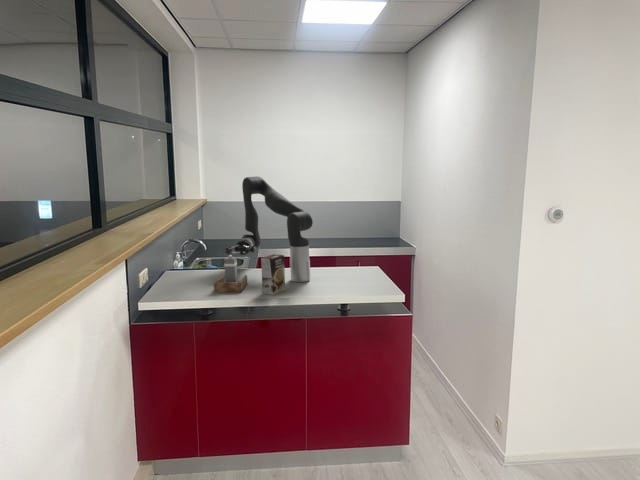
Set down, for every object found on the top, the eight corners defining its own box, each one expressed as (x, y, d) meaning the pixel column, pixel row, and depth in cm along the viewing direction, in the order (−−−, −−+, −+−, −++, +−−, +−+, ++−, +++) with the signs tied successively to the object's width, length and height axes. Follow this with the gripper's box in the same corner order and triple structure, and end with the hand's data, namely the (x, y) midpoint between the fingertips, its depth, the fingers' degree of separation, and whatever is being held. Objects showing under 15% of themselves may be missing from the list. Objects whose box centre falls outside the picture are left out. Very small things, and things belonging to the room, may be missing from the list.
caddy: (247, 284, 211) (247, 275, 211) (241, 292, 199) (240, 282, 198) (222, 284, 212) (222, 275, 211) (214, 292, 199) (214, 283, 198)
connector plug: (238, 283, 208) (236, 254, 206) (235, 286, 204) (234, 256, 201) (228, 284, 209) (226, 254, 206) (225, 286, 204) (223, 256, 201)
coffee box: (273, 295, 194) (271, 258, 191) (262, 293, 197) (260, 257, 194) (286, 289, 201) (284, 254, 199) (274, 288, 205) (273, 253, 202)
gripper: (230, 239, 232) (222, 244, 216) (257, 238, 231) (251, 243, 215) (231, 253, 233) (223, 260, 217) (258, 252, 232) (252, 259, 216)
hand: (237, 252), depth 216 cm, fingers open, 8 cm apart
